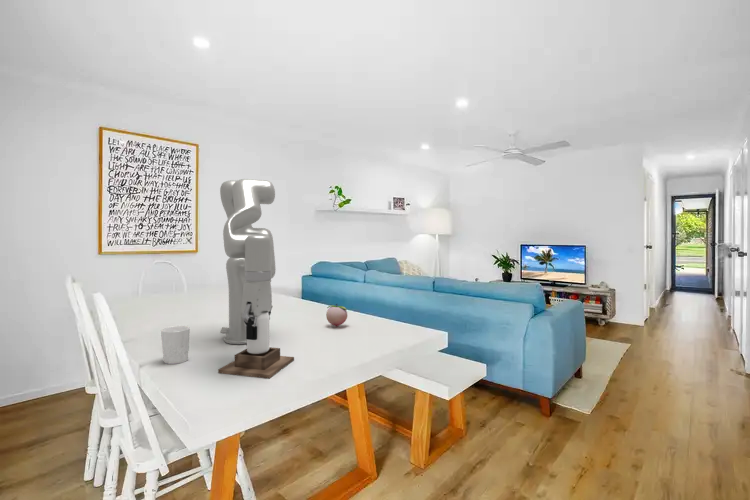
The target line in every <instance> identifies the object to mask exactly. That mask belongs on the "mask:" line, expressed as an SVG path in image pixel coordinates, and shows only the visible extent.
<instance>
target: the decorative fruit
mask: <svg viewBox="0 0 750 500" xmlns="http://www.w3.org/2000/svg"><path fill="white" fill-rule="evenodd" d="M326 308H327V311H326V320H327V321H328V323H329V324H330V325H331V326H332V325H333V326H335V327H337V328H338V326H341V325H343V324H344V323H345V322H346V321H347V319H348V308H346V307H345V306H342V305H338V303H336V305H333V304H332V305H328V306H327V307H326Z"/></svg>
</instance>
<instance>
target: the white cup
mask: <svg viewBox="0 0 750 500" xmlns="http://www.w3.org/2000/svg"><path fill="white" fill-rule="evenodd" d="M190 330H191V329H190V326H188V325H187V326H186V325H174V326H173V325H172V326H167V327H163V328H162V329H161V330H160V331H161V333H160V334H161V347H162V355H163V357H162V359H163V363H164V364H167V365H175V364H176V365H177V364H181V363H185V362H186V361H188V359H189V351H190V350H189V348H190V333H191V331H190Z"/></svg>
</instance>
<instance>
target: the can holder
mask: <svg viewBox="0 0 750 500" xmlns="http://www.w3.org/2000/svg"><path fill="white" fill-rule="evenodd" d="M294 360H295V357H294V356H287V355H281V347H270V346H269V350H268V352H266V353H263V354H250V353H248V352H247V348H245V349H244V350H241V351H239V352H238V353H236V354H234V360H232V361H231V362H229V363H227V364H226V365H224V366H222V367H220V368H219V369H218V370H217V373H218V374H224V375H233V376H235V375H236V376H242V377H243V376H244V377H252V378H263V379H271V378H272V377H274V376H275V375H276V374H277V373H279V372H280V371H282V370H283V369H285V368H286V367H287V366H288V365H290V364H291V363H292V362H293V361H294ZM281 369H282V370H281Z"/></svg>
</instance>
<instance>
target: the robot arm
mask: <svg viewBox="0 0 750 500" xmlns="http://www.w3.org/2000/svg"><path fill="white" fill-rule="evenodd" d="M219 191H220V192H219V194H220V195H219V196H220V201H221V205H222V207H223V209H224V210H223V211H224V212H225V214H226V217H227V220H226V221H225V223H224V225H223V230H222V235H223V237H222V239H223V247H224V252H225V255H226V256H227V257H228V259H227V260H226V263H225V269H226V275H227V284H228V285H227V286H228V327H226V326H223V327H221V328H220V330H219V331H220V332H219V333H220V334H225V336H224V337H223V338H224V342H225V343H226V344H231V345H247V339H248V340H257V326H256V322H257V317H258V316H260V315H261V313H266V312H267V311H268V314H269V321H270V320H271V315H272V312H271V311H272V309H273V298H272V297H273V296H272V286H271V284H272V283H271V282H272V279H273V278H274V277H275V275H276V271H277V270H276V269H277V268H276V255H275V246H274V239H273V238H274V237H273V234H272V232H271V231H270V230H269V229H268V228H264V227H263V228H262V227H253V224H255V223H256V222H258V221H259V220H260V219H261V217H262V208H261V205H272V204H273V203H274V202H275V199H276V189H275V186H274V185H273V183H272V182H271V181H269V180H264V179H263V180H262V179H249V178H242V179H237V180H236V179H235V180H234V179H231V180H226V181H224V182H222V183H221V185H220V188H219ZM251 314H254V315H251ZM251 318H253V321H252V319H251Z"/></svg>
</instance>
